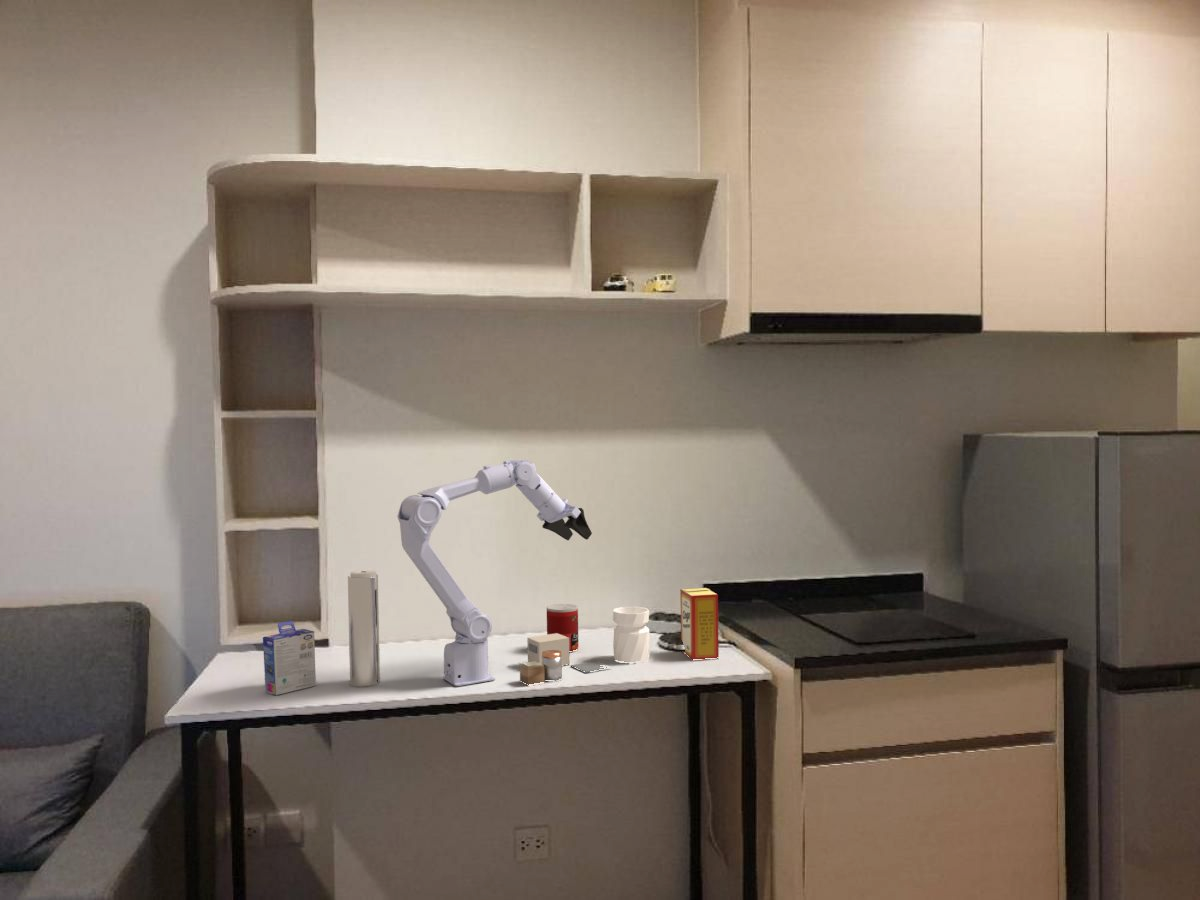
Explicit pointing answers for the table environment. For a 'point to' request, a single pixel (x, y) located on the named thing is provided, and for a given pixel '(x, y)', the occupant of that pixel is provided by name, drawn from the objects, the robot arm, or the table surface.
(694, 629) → the red and yellow box
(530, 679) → the walnut block
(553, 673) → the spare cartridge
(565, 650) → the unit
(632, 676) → the table surface
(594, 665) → the pad
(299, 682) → the ink cartridge box
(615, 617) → the white faceted vase
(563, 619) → the canned food
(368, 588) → the beige tall cylinder
